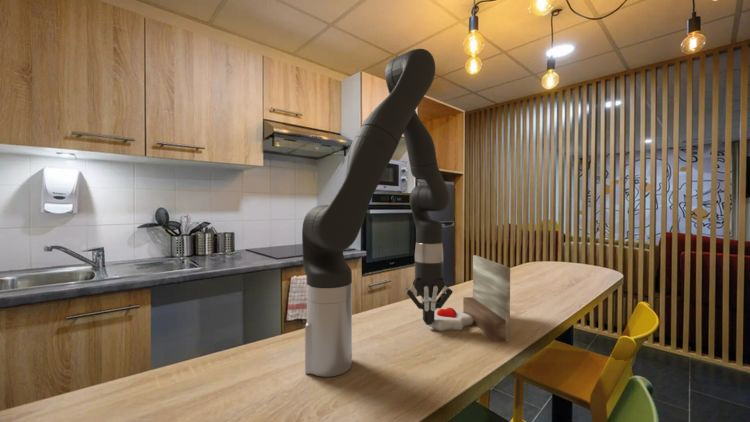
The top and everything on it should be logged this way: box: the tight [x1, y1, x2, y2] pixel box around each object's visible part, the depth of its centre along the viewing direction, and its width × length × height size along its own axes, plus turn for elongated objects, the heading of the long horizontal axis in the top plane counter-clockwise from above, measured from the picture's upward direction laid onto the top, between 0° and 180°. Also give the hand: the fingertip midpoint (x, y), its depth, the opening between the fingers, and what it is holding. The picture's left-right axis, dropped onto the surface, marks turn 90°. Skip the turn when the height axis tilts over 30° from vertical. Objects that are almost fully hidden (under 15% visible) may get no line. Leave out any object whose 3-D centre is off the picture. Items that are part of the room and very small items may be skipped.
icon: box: [429, 307, 474, 332], centre depth 87 cm, size 12×4×10 cm
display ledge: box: [462, 254, 511, 342], centre depth 86 cm, size 4×20×18 cm, turn 5°
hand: (428, 323), depth 84 cm, fingers closed
